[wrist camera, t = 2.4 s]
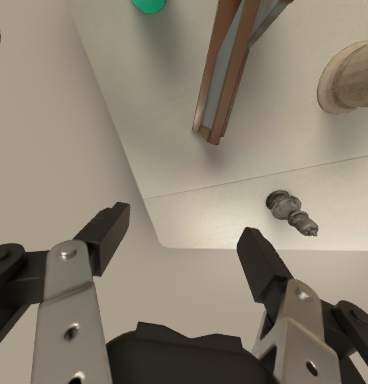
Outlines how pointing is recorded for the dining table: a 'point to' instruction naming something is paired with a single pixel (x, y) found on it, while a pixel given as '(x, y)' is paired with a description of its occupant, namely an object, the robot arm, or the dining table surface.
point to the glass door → (227, 71)
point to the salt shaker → (291, 212)
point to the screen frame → (227, 8)
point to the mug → (345, 80)
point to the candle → (149, 5)
